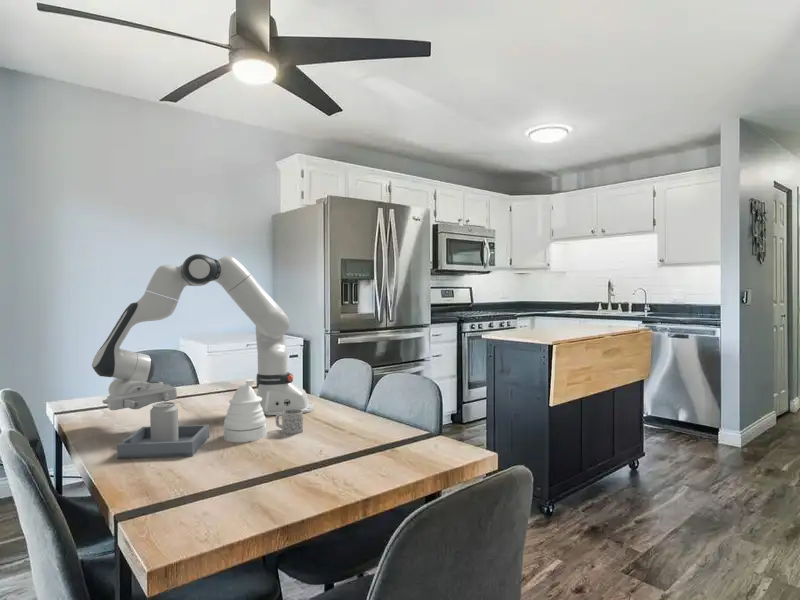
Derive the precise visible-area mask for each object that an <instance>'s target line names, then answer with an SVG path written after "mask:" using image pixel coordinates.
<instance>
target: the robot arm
mask: <svg viewBox="0 0 800 600" xmlns="http://www.w3.org/2000/svg"><path fill="white" fill-rule="evenodd" d="M210 282H216V283H218V284H219V285H220V286H221V288H223V289H224V291H225V292H226V293H227V294H228V295H229V297H230V298H231V299H232V300H233V301H234V303H235V304H236V305H237V306H238V307H239V308H240V310H241V311H243V313H244V315H246V316H247V317H248V318H249V319H250V321H251V322H252V323H253V324H254V325H255V337H256V338H255V341H256V350H257V351H256V352H257V373H256V380H255V382H256V388H257V392H256V395H257V396H259V397H261V398H262V401H261V402H260V405H261V407H262V409H263V410H262V411H263V412H264V416H276V414H277V413H280V412H282V411H284V410H289V409H300V410H302V411H303V414H305V413H310V412H312V411H313V410H314V408H315V406H314V403H313V402H311V401H310V402H309V399H308V395H307V392H306V390H305V389H304V388H302V387H300V385H297V384H296V383H295V382H294V375H293V373H290V372H289V371H288V349H287V342H286V334H287V332H288V331H289V329H290V318H289V317H288V315H287V314H286V312H284V310H283V309H282V308H281V306H279V304H278V303H277V302H276V301H275V300H274V299H273V298H272V297H271V296H270V294H268V292H267V291H266V290H265V289H264V288H263V286H261V284H260V283H259V282H258V280H257V279H256V278H255V277H254V276H253V275H252V273H251V272H250V271H249V270H248V269H247V268H246V266H244V265H243V264H242V263H241V262H240V261H239V260H238V259H236V258H235V257H233V256H231V255H226V256H223V257H220V258H219V259H215V258H212V257H210V256H208V255H206V254H201V253H196V254H191V255H190V256H188V257H186V259H185V260H184V261H183V263H182V264H181V265H180V266H176V265H172V264H171V265H170V264H162V265H160V266H159V267H158V268H157V269H156V270H155V271H154V273H153V274H152V276H151V278H150V280H149V282H148V285H147V286H146V289H145V291H144V294H143V295H142V296H141V298H139V299H138V300H137V301H136V302H131V303H130V304H129V305H128V306H127V307H126V308H125V309H124V311H123V312H122V314H121V315H120V317H119V319H117V321H116V323H115V325H114V327H113V328H112V330H111V331H110V333H109V335H108V336H107V338H106V339H105V341H104V342H103V344H102V345H101V346H100V348H99V349H98V350H97V352H96V354H95V355H94V357H93V359H92V364H91V366H92V369H93V371H94V372H95V373H96V374H97V375H98V376H99V377H103V378H114V380H113V381H111V383H110V384H109V386H108V394H109V395H108V396H106V397H107V398H106V399H103V400H102V403H103V404H104V405H107V408H108V409H109V410H110V411H118V410H123V409H131V410H141V409H142V408H144V407H147V406H149V405H153V404H156V403H161V402H170V401H172V400H176V399H177V398H178V391H177V388H176V387H174V386H173V385H170V384H164V382H162V381H151V380H152V379H153V376H154V374H155V373H154V372H155V364H154V360H153V359H152V357H151V356H150V355H149V354H145V353H140V352H136V351H131V350H126V349H123V348H120V347H121V345H122V343H124V341H125V339H126V337H127V335H129V333H130V330H132V328H133V327H134V326H135V325H137V324H139V323H143V322H153V321H162V320H164V319H167V318H169V317H170V316H172V315H173V313H174V312H175V310H176V308H177V306H178V302H179V300H180V298H181V295H182V292H183V290H184V288H186V287H187V286H190V287H191V286H193V287H201V286H205V285H208V284H209V283H210Z"/></svg>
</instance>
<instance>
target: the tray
mask: <svg viewBox="0 0 800 600" xmlns="http://www.w3.org/2000/svg"><path fill="white" fill-rule="evenodd" d="M210 437H211V436H210V424H191V425H188V424H187V425H178V438H179V440H178V441H173V442H151V428H150V426H142V427H141V428H139V429H137V430H136V431H135V432H134V433H131V434H130V435H129V436H128V437H126V438H125V439H123V440H122V441H121V442H119V443H118V444H117V445H116V449H117V451H116V452H117V453H116V457H117V458H116V459H117V460H126V459H128V460H130V459H131V458H134V459H149V458H148V457H160V458H178V457H177V456H185V457H193V456H195V454H196V453H197V452H198V451H199V450H200V448H202V447H203V445H204V444H205V443H206V442H207V441H208V440H209V438H210ZM207 439H208V440H207ZM198 449H199V450H198ZM197 450H198V451H197ZM131 460H132V459H131Z"/></svg>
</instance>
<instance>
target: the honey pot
mask: <svg viewBox="0 0 800 600" xmlns="http://www.w3.org/2000/svg"><path fill="white" fill-rule="evenodd" d="M254 382H255V379H245V383H241V385H239V386H238V387H237V388H236V391H235V392H234V395H233V397H232V398H230V399H229V402H228V403H229V407H228V409H227V411H226V415H225V418H224V420H223V439H224V441H226V440H227V441H226V442H230V441H231V442H230V443H249V441H250V442H255V441H259V440H260V439H263V437H264V438H265V437H266V436H267V418H266V415H265V414H264V412H263V411H262V410H263V409H262V407H261V405H260V402H261V401H262V398H261V397H259V396H257V393H256V392H255V390H254V389H253V387H252V386H253V385H254Z"/></svg>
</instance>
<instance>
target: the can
mask: <svg viewBox="0 0 800 600" xmlns="http://www.w3.org/2000/svg"><path fill="white" fill-rule="evenodd" d="M176 404H177V403H176V402H174V401H165V402H164V401H162V402H157V403H153V404H151V405H152V408H151V409H150V410H149V417H150V419H149V421H150V422H149V423H150V426H149V427H150V428H151V442H173V441H178V440H179V438H178V426H179V407H178V406H177V405H176Z"/></svg>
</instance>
